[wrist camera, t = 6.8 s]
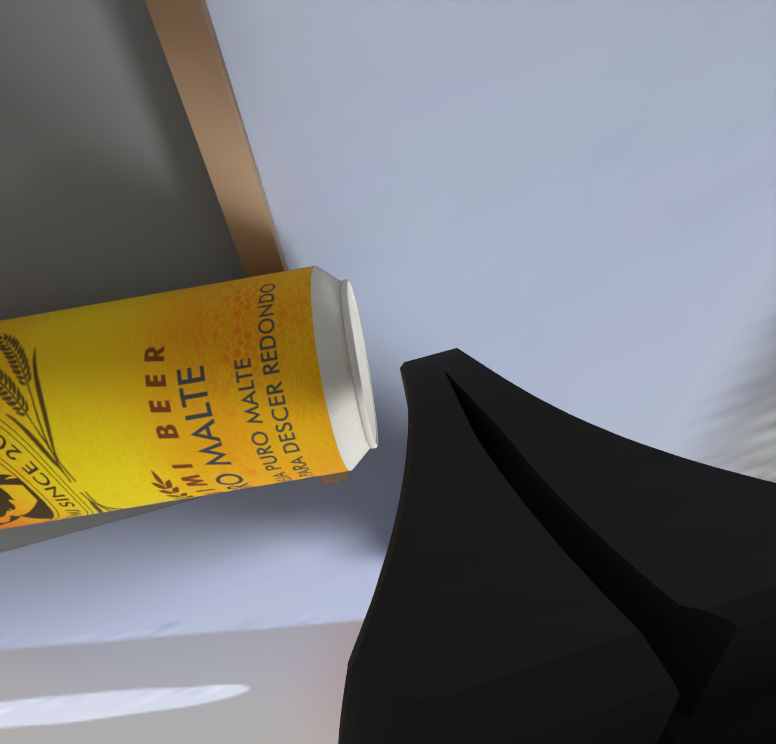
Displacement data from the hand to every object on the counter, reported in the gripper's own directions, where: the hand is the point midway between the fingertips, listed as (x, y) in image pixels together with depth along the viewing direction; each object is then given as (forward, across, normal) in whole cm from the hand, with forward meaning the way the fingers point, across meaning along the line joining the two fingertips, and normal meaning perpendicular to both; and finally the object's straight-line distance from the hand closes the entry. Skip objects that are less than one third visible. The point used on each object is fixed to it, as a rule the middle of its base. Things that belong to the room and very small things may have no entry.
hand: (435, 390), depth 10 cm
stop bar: (+8, +4, 0) cm, 9 cm away
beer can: (+3, +1, +1) cm, 4 cm away
